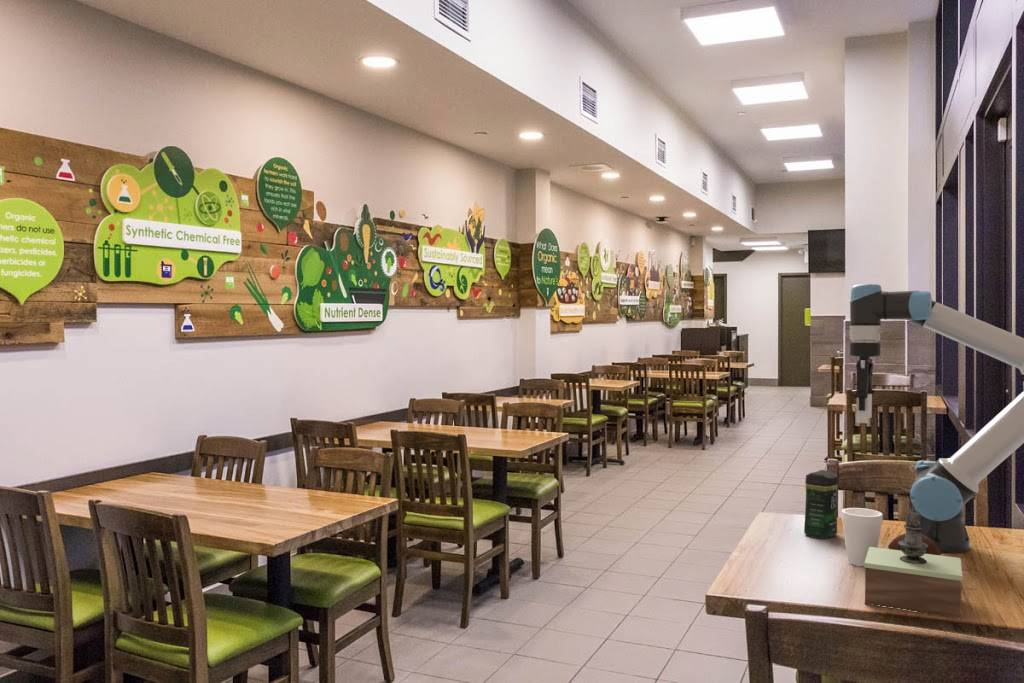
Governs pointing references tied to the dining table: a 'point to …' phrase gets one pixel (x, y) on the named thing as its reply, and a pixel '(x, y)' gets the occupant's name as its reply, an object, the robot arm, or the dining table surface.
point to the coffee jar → (821, 504)
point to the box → (913, 592)
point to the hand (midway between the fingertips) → (864, 420)
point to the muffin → (931, 544)
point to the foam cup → (860, 532)
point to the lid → (932, 568)
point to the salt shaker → (913, 539)
